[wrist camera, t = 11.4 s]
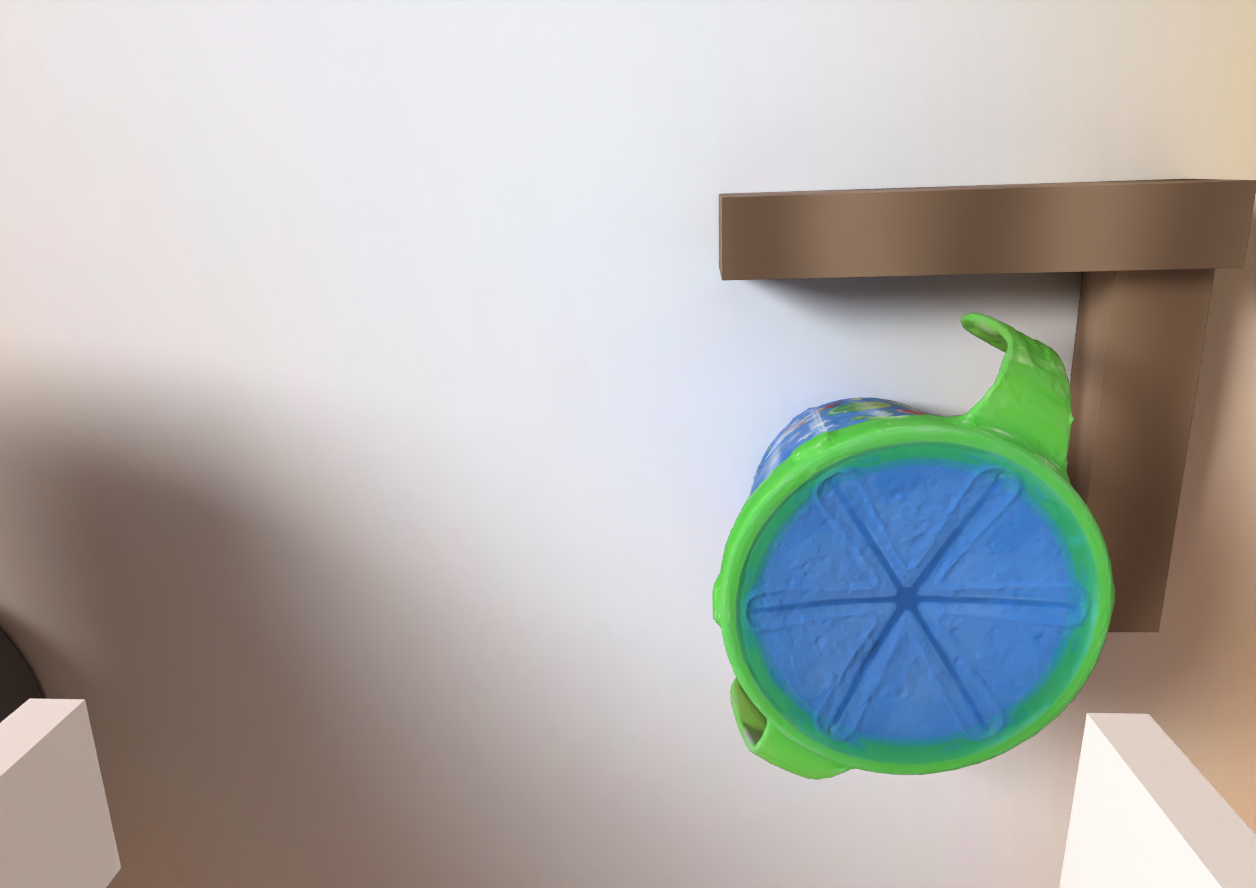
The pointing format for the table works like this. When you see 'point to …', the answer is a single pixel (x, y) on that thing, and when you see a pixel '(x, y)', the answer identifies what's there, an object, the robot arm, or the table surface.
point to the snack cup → (915, 578)
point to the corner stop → (1106, 326)
